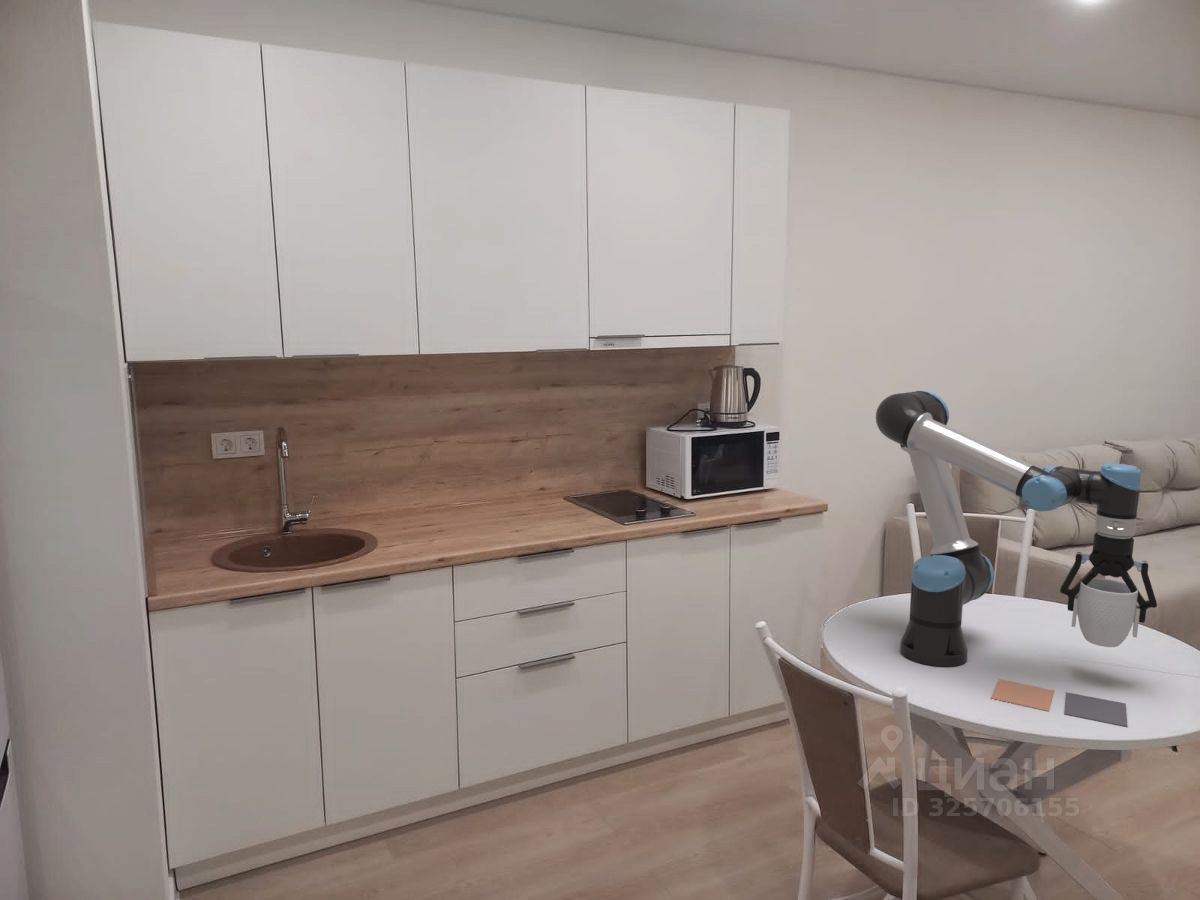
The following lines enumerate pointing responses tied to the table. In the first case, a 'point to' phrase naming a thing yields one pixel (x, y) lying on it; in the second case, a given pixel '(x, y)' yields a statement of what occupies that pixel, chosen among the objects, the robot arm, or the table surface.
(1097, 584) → the mug
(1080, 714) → the charcoal mat
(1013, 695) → the terracotta tile
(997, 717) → the table surface
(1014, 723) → the table surface
